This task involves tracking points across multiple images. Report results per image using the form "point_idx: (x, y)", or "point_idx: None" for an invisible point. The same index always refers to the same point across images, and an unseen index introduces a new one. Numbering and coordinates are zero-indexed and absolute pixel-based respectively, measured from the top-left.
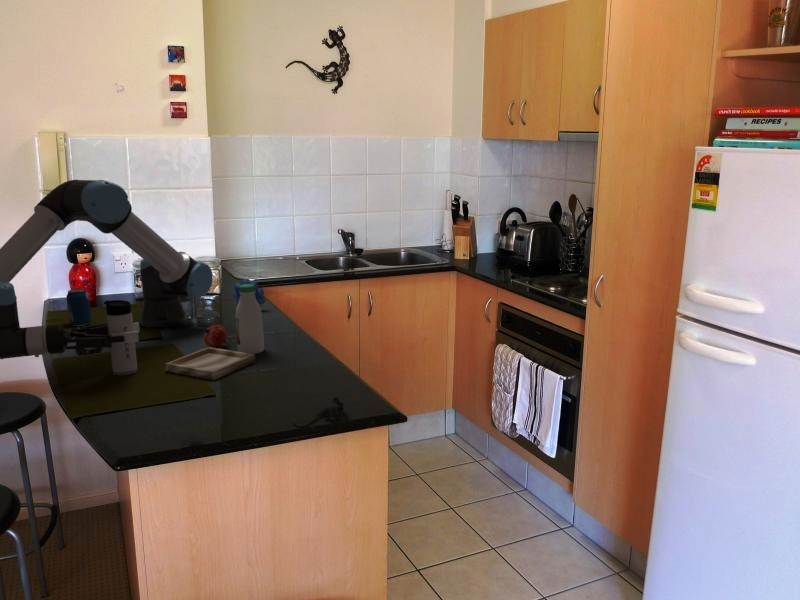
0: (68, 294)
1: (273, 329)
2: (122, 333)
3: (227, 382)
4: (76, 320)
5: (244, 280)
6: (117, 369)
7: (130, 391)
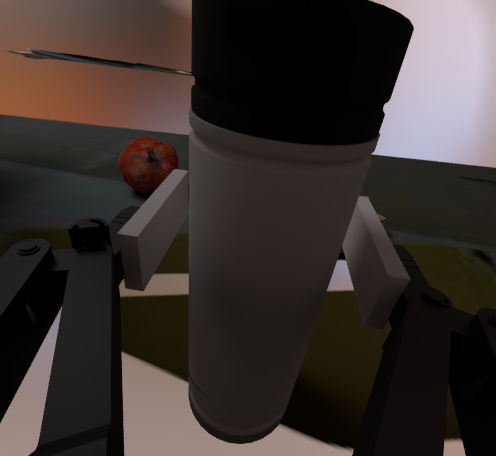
0: None
1: (115, 137)
2: (386, 236)
3: (395, 224)
4: None
5: None
6: (283, 409)
7: None
